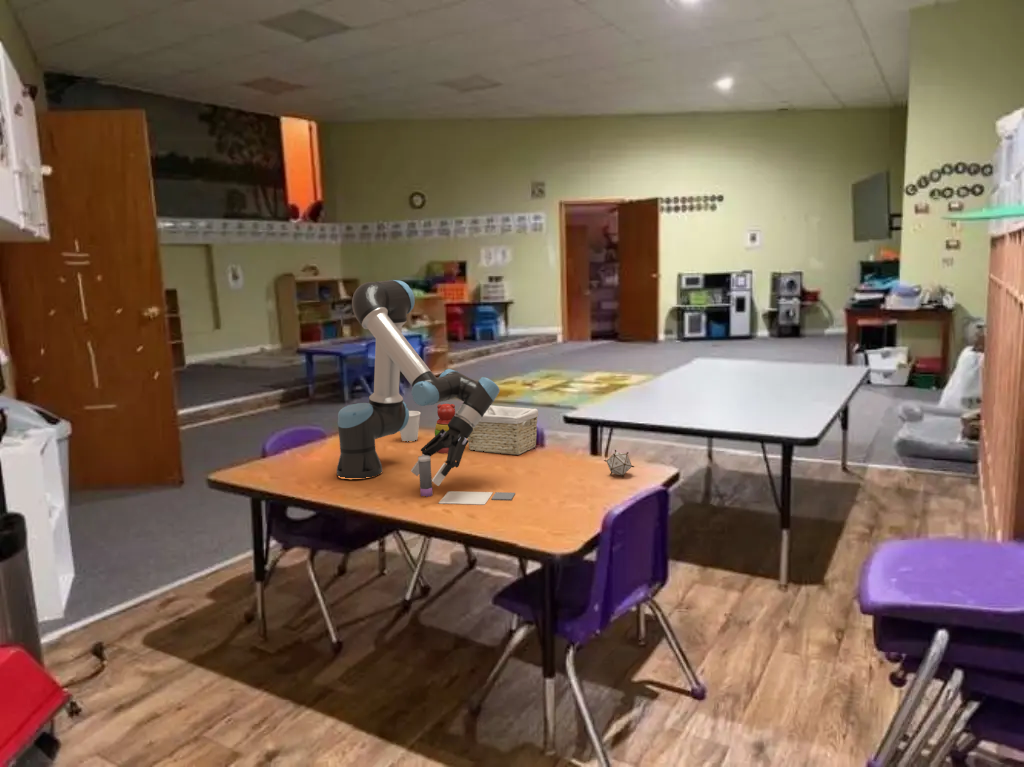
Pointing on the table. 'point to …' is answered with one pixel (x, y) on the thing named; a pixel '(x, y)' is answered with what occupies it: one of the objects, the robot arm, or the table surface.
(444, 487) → the table surface
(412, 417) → the cup
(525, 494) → the table surface
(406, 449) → the table surface
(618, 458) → the game die
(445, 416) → the stacking bear
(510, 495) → the rest pad
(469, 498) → the paper
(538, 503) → the table surface
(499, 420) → the storage basket
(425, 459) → the marker
